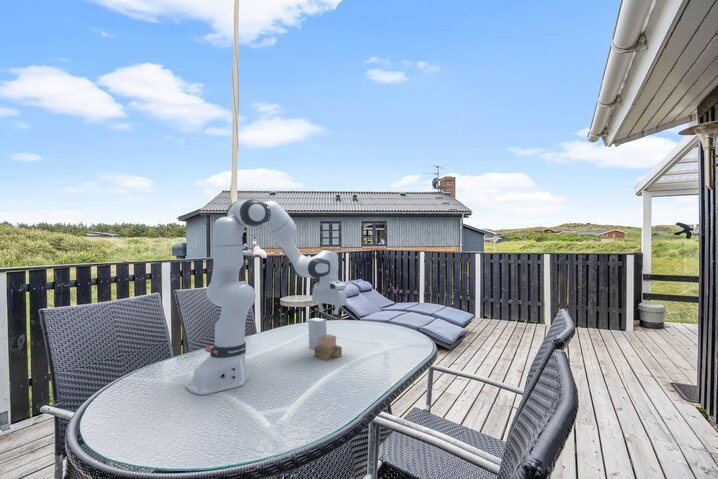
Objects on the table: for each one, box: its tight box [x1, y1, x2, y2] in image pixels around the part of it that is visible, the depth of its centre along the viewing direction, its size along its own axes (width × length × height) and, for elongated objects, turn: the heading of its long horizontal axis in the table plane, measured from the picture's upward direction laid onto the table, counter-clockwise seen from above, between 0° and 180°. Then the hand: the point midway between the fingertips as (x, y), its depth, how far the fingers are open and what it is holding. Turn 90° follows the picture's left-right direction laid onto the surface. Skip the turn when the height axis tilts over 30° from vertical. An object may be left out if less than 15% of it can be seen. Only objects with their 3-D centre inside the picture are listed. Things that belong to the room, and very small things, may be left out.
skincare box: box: [308, 317, 328, 350], centre depth 185 cm, size 8×6×15 cm
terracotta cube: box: [321, 333, 337, 349], centre depth 171 cm, size 5×5×5 cm
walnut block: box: [314, 344, 343, 362], centre depth 171 cm, size 9×9×5 cm
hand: (328, 313), depth 171 cm, fingers open, 8 cm apart
